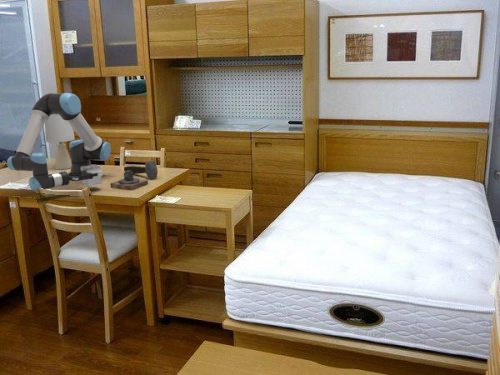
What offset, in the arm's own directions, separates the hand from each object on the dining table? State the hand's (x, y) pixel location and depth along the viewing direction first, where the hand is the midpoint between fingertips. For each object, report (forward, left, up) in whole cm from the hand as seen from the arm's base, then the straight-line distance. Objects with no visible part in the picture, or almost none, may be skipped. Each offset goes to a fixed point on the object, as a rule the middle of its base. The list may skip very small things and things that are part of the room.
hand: (98, 171), depth 285 cm
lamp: (-65, +32, -10) cm, 73 cm away
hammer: (+2, +33, -10) cm, 34 cm away
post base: (+13, +10, -9) cm, 19 cm away
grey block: (-2, -4, -6) cm, 8 cm away
